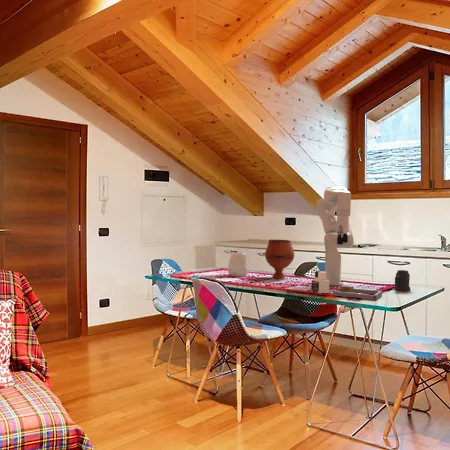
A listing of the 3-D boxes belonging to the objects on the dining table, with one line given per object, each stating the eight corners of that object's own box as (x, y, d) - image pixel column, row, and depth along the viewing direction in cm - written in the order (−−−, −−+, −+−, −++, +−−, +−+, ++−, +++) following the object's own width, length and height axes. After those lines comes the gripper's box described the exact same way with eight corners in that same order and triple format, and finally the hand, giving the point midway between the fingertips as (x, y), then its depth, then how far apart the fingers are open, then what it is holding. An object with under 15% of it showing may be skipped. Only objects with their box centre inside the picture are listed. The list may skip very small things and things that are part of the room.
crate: (339, 294, 267) (339, 286, 267) (342, 293, 272) (342, 285, 272) (350, 295, 265) (351, 287, 264) (353, 294, 269) (353, 285, 269)
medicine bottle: (311, 292, 275) (311, 270, 274) (321, 291, 278) (322, 270, 277) (318, 294, 268) (319, 272, 268) (329, 293, 271) (329, 271, 271)
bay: (333, 296, 263) (333, 291, 263) (341, 291, 278) (341, 287, 278) (375, 300, 253) (375, 295, 253) (382, 295, 267) (382, 291, 267)
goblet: (291, 280, 317) (292, 241, 316) (261, 278, 322) (262, 240, 321) (295, 276, 335) (296, 239, 334) (267, 275, 340) (267, 238, 339)
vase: (249, 274, 342) (249, 252, 342) (248, 277, 328) (248, 254, 328) (229, 273, 344) (229, 251, 343) (226, 276, 330) (227, 253, 329)
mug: (398, 288, 293) (399, 269, 292) (413, 290, 286) (414, 271, 286) (388, 290, 285) (388, 270, 284) (403, 292, 278) (404, 272, 278)
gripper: (341, 212, 289) (340, 241, 291) (332, 213, 274) (331, 244, 276) (354, 212, 286) (352, 242, 287) (346, 214, 271) (344, 245, 272)
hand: (342, 243), depth 281 cm, fingers open, 9 cm apart
